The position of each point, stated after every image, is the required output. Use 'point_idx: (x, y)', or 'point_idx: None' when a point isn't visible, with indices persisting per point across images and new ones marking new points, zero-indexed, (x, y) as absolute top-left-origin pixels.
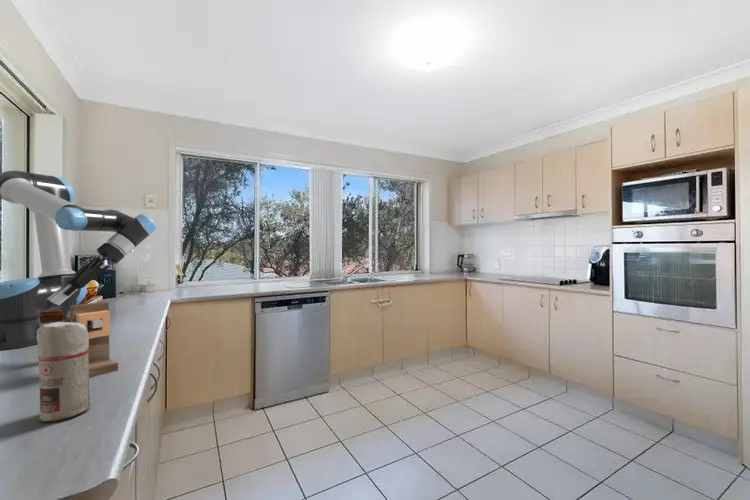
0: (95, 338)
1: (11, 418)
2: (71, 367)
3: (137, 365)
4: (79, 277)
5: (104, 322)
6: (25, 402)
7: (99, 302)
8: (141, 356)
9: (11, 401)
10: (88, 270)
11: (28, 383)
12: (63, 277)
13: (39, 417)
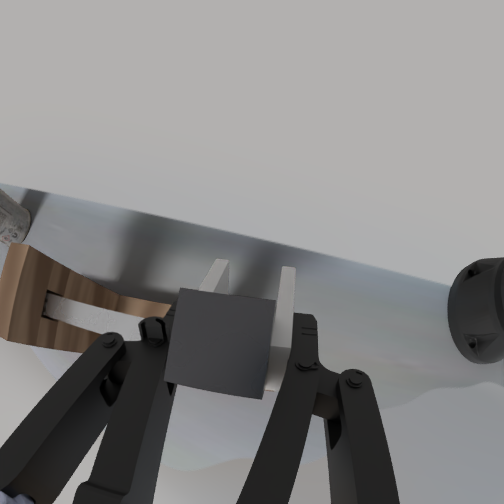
0: None
1: (52, 196)
2: None
3: (59, 369)
4: (128, 382)
5: None
6: (72, 214)
7: (8, 323)
8: None
9: (90, 205)
10: (96, 463)
11: (136, 237)
12: (196, 290)
13: (26, 209)
